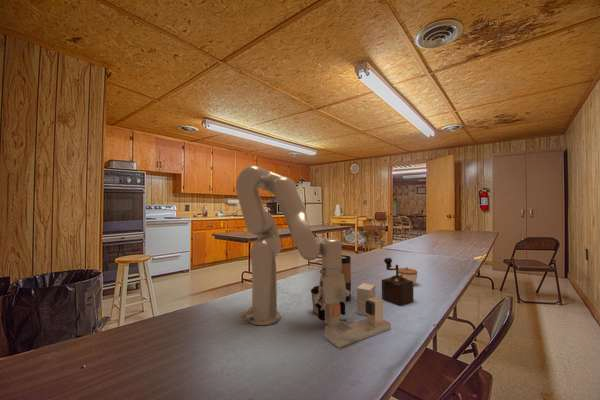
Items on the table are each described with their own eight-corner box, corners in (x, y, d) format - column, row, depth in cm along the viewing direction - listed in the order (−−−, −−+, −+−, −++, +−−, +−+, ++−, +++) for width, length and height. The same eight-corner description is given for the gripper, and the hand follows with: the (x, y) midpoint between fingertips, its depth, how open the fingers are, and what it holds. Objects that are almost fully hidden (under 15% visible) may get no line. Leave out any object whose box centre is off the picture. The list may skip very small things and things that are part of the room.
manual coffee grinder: (415, 301, 121) (415, 262, 122) (400, 306, 115) (399, 265, 116) (387, 292, 134) (387, 256, 135) (372, 296, 128) (372, 259, 129)
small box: (362, 306, 115) (362, 282, 115) (375, 309, 112) (375, 284, 112) (356, 313, 108) (356, 287, 108) (370, 316, 105) (370, 289, 105)
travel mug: (350, 296, 127) (350, 255, 128) (351, 302, 120) (351, 258, 120) (334, 296, 128) (334, 255, 129) (334, 301, 121) (334, 258, 121)
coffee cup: (326, 316, 105) (326, 290, 106) (309, 314, 107) (309, 289, 107) (328, 309, 112) (328, 285, 112) (312, 308, 114) (312, 284, 114)
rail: (338, 348, 82) (338, 315, 82) (324, 337, 88) (324, 307, 88) (390, 328, 94) (390, 300, 95) (374, 321, 101) (374, 294, 101)
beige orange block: (324, 322, 100) (324, 301, 100) (332, 320, 102) (332, 299, 102) (332, 327, 95) (332, 305, 96) (341, 325, 98) (341, 303, 98)
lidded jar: (392, 282, 151) (392, 265, 151) (408, 280, 154) (408, 264, 154) (405, 288, 141) (405, 270, 141) (421, 286, 144) (421, 268, 144)
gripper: (318, 276, 92) (319, 326, 91) (355, 270, 101) (356, 315, 100) (307, 272, 98) (307, 318, 98) (342, 266, 107) (342, 308, 107)
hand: (331, 316), depth 99 cm, fingers open, 9 cm apart
